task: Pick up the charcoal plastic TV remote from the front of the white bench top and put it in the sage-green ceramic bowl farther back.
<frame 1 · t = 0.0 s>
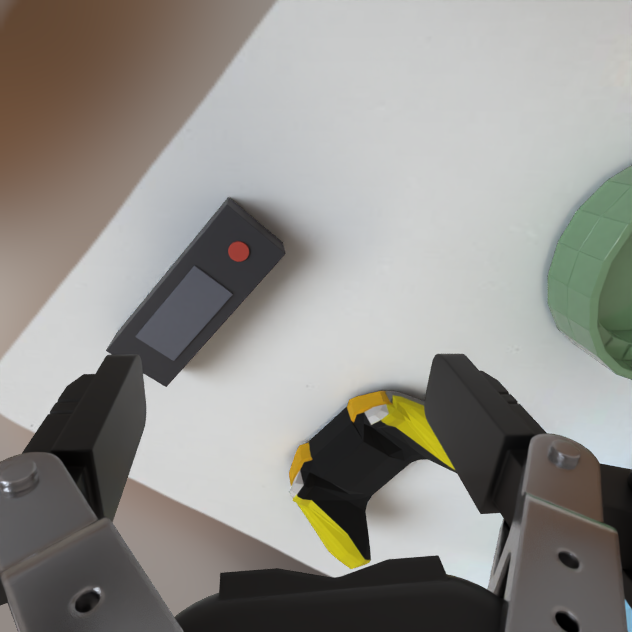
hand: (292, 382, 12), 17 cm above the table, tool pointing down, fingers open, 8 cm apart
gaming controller: (364, 446, 37), on the table
remote: (198, 288, 29), on the table
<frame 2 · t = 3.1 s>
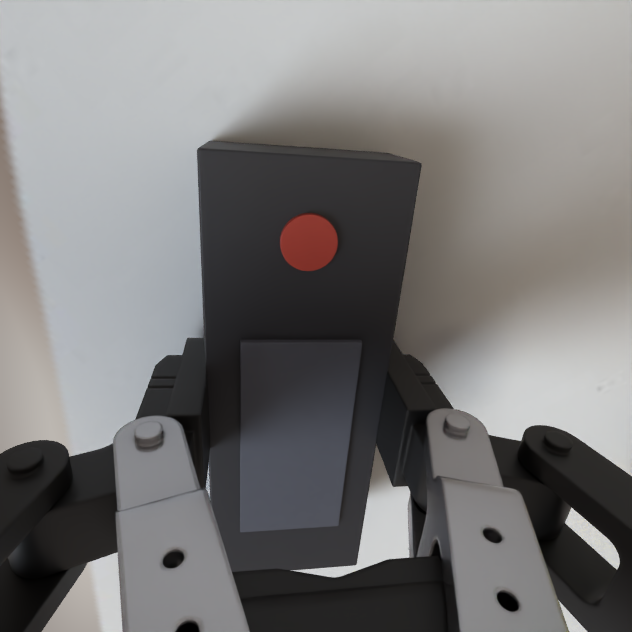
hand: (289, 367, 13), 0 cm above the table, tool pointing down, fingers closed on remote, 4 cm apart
remote: (289, 361, 13), on the table, touching gripper
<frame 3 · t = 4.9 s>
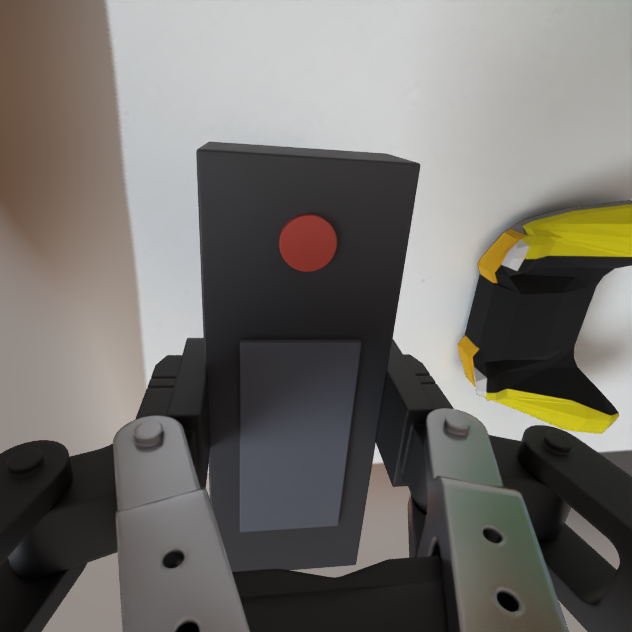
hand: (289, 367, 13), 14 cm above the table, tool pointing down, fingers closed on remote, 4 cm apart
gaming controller: (530, 303, 30), on the table
remote: (289, 361, 13), point 14 cm above the table, touching gripper
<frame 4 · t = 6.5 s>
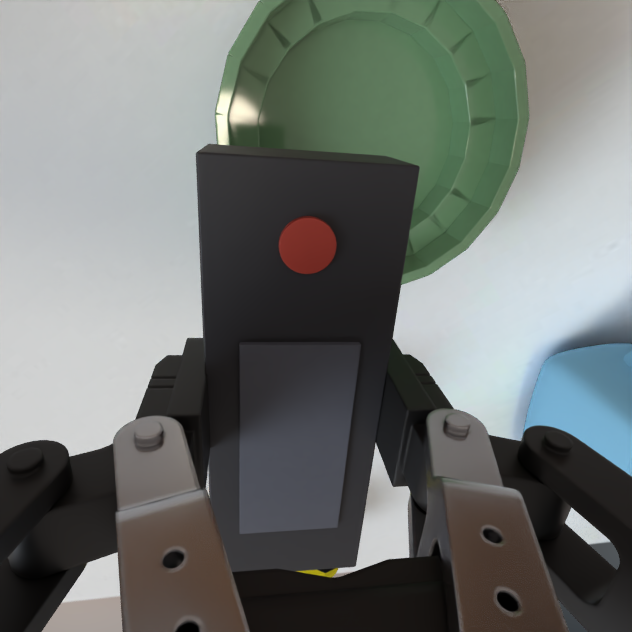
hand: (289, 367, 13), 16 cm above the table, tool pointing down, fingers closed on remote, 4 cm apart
bowl: (354, 137, 25), on the table
teapot: (587, 377, 36), on the table
remote: (288, 363, 13), point 16 cm above the table, touching gripper
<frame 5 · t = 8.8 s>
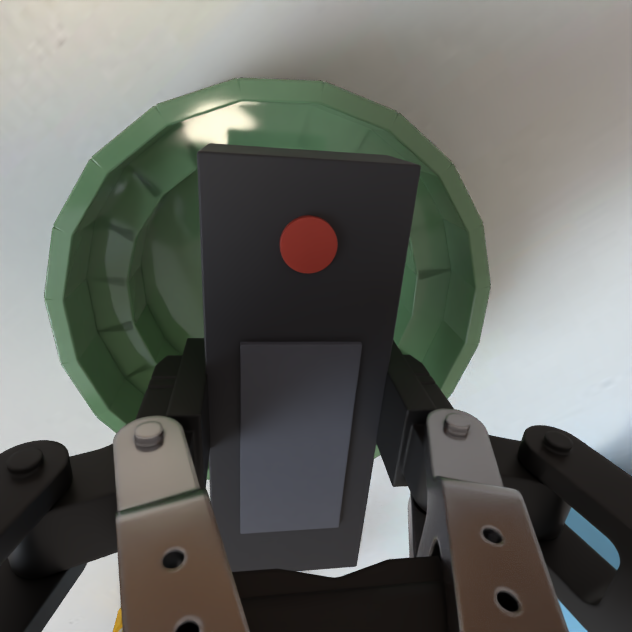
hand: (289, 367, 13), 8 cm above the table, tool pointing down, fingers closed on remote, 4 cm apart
bowl: (275, 276, 20), on the table
teapot: (576, 516, 30), on the table
remote: (289, 363, 13), point 8 cm above the table, touching gripper
when the fingers open (3 cm above the table, at t = 10.2 s): remote stays where it is, resting on bowl.
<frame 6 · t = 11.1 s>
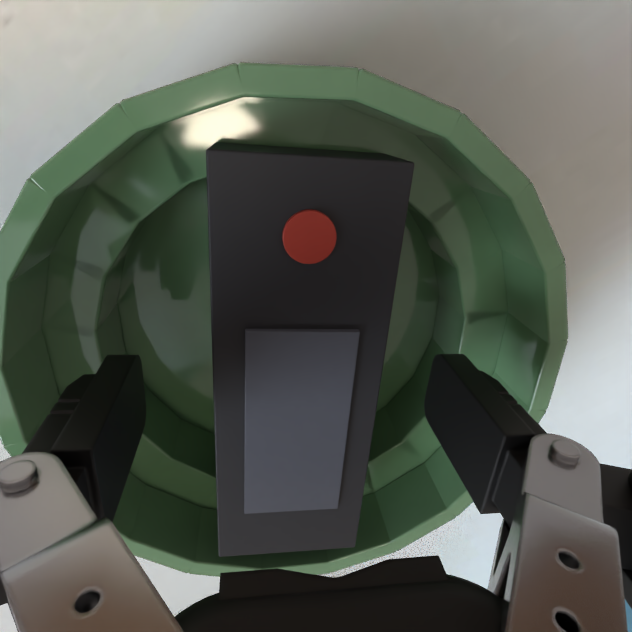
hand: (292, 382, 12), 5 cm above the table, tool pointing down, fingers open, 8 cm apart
bowl: (284, 313, 16), on the table
remote: (291, 352, 14), point 3 cm above the table, touching bowl
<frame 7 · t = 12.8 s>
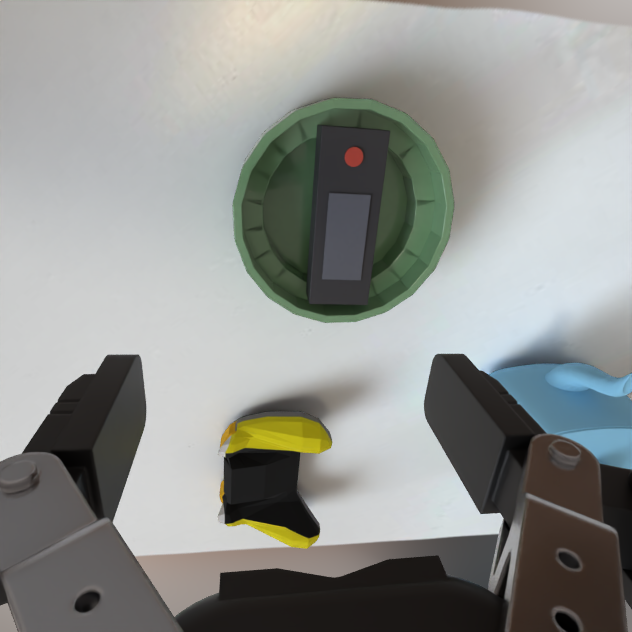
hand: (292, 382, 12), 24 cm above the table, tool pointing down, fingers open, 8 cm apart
bowl: (334, 208, 34), on the table
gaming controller: (271, 455, 44), on the table
teapot: (526, 389, 45), on the table
remote: (340, 216, 32), point 3 cm above the table, touching bowl
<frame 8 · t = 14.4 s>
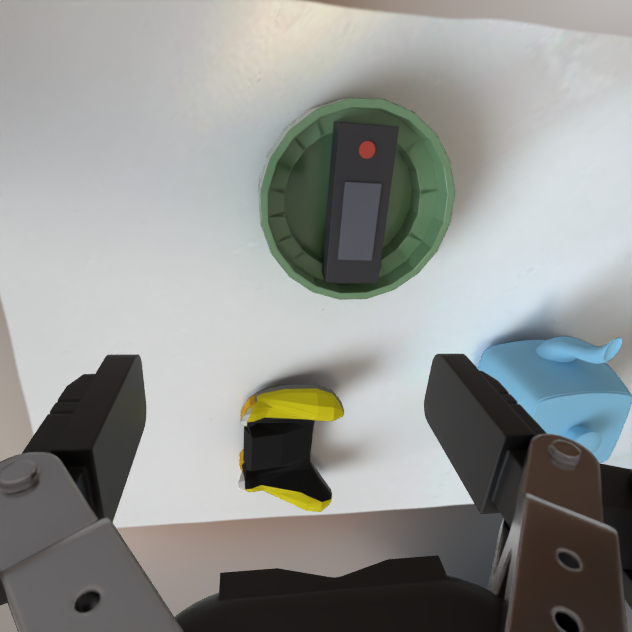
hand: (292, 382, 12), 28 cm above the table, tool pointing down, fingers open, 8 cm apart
bowl: (346, 197, 38), on the table
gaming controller: (286, 428, 48), on the table
teapot: (519, 364, 49), on the table
remote: (353, 203, 36), point 3 cm above the table, touching bowl
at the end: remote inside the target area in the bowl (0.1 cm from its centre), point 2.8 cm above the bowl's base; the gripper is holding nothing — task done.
